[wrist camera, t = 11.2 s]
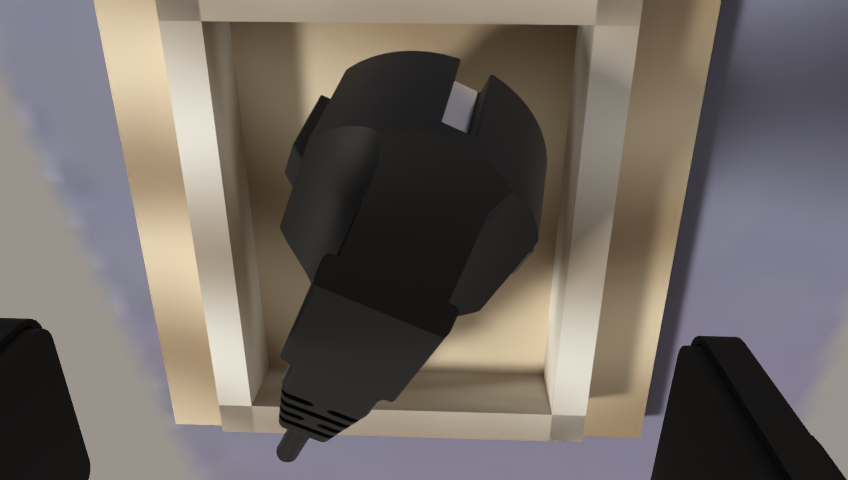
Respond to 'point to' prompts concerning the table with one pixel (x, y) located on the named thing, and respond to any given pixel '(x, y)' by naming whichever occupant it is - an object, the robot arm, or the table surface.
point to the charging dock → (270, 188)
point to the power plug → (399, 229)
